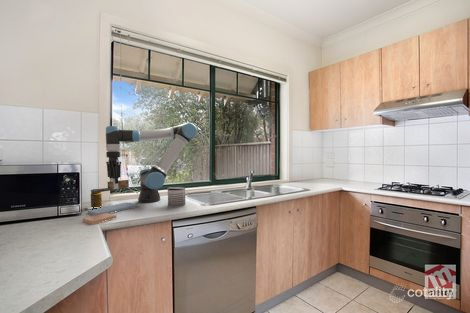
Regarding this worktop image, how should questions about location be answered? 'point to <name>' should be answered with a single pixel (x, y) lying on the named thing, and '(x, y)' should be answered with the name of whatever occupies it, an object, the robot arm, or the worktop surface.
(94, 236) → the worktop surface
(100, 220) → the tile
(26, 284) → the worktop surface
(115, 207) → the board
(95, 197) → the condiment
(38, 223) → the worktop surface
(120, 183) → the turner
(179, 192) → the can
